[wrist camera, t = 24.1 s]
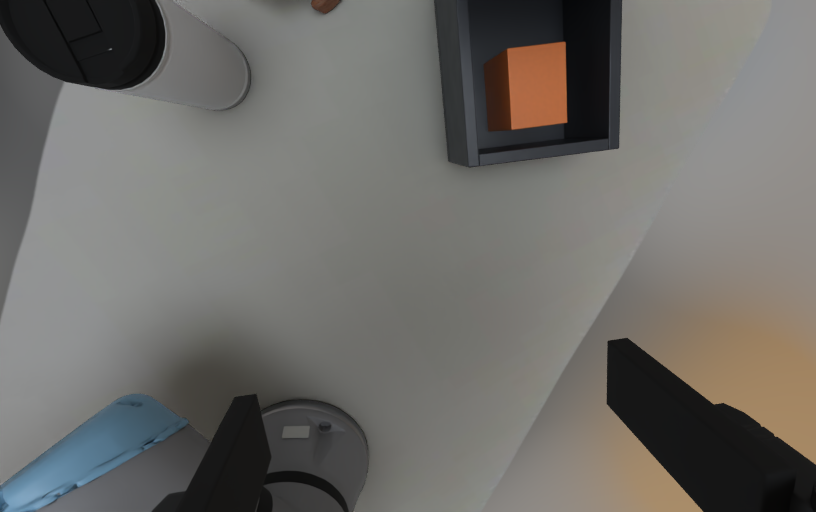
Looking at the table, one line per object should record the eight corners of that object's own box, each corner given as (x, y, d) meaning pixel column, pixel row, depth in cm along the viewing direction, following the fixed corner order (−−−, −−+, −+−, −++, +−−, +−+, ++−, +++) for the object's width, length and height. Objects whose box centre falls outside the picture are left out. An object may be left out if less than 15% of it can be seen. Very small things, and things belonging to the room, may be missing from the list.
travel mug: (232, 21, 37) (84, -105, 18) (262, 98, 39) (158, 58, 20) (164, 44, 37) (-57, -58, 18) (197, 120, 39) (30, 101, 20)
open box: (569, 146, 43) (619, 148, 34) (448, 161, 42) (468, 167, 33) (567, -21, 38) (623, -67, 30) (433, -7, 38) (452, -50, 29)
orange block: (535, 125, 41) (567, 122, 34) (487, 131, 41) (511, 130, 34) (532, 58, 39) (566, 41, 32) (483, 63, 39) (507, 48, 32)
